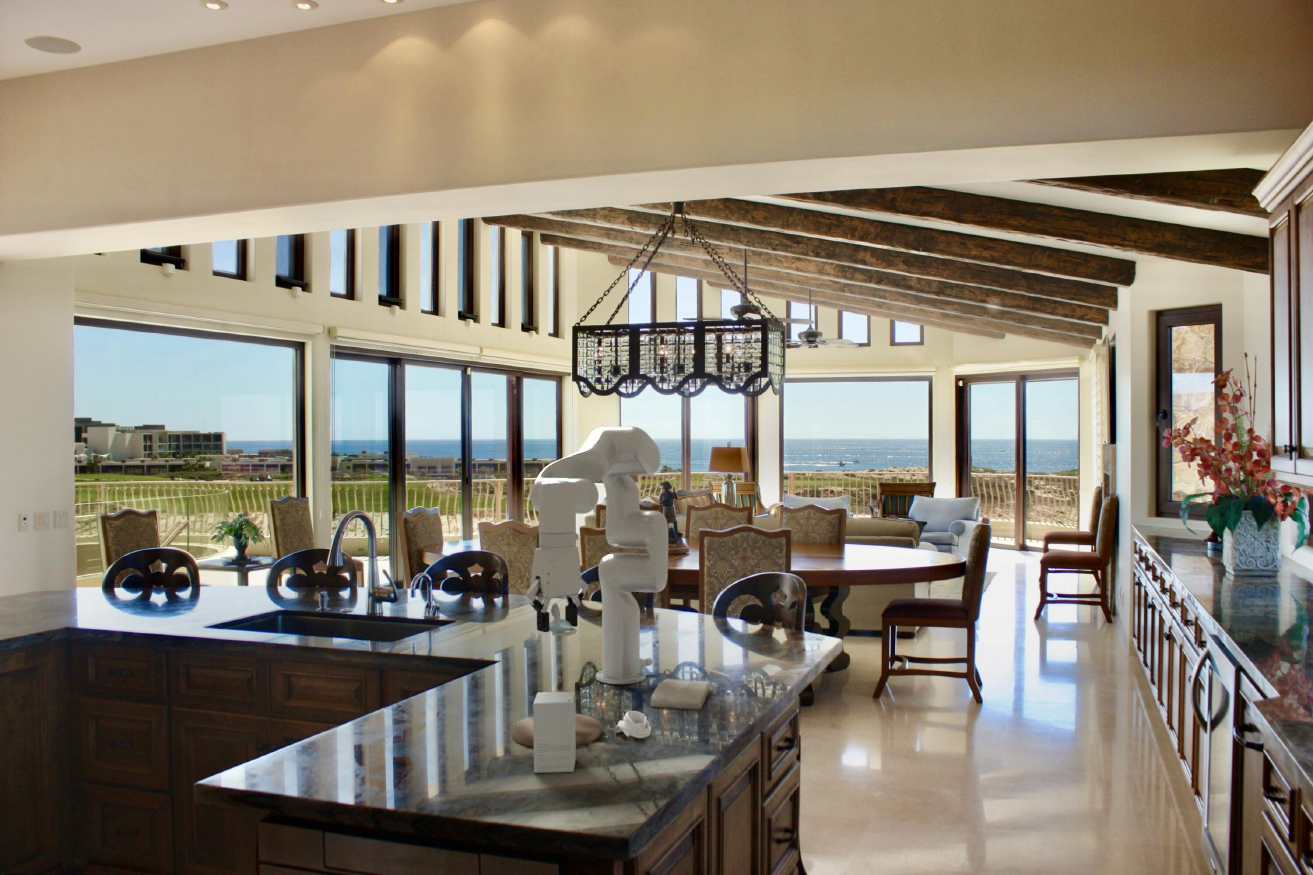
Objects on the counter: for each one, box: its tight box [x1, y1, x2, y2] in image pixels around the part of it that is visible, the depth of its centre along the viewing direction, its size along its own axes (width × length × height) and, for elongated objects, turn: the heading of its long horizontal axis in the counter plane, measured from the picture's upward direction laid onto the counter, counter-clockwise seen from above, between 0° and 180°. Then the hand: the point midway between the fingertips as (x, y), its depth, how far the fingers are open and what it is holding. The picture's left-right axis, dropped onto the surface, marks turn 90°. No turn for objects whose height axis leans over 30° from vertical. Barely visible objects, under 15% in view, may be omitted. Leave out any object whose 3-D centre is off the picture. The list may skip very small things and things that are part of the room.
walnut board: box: [511, 713, 602, 748], centre depth 179 cm, size 18×18×2 cm
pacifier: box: [549, 602, 577, 637], centre depth 180 cm, size 7×6×6 cm
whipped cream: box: [614, 710, 652, 739], centre depth 180 cm, size 8×7×5 cm
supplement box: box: [532, 691, 577, 774], centre depth 161 cm, size 7×7×13 cm
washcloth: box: [650, 678, 711, 710], centre depth 205 cm, size 12×18×3 cm, turn 170°
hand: (557, 627), depth 180 cm, fingers closed on pacifier, 6 cm apart
